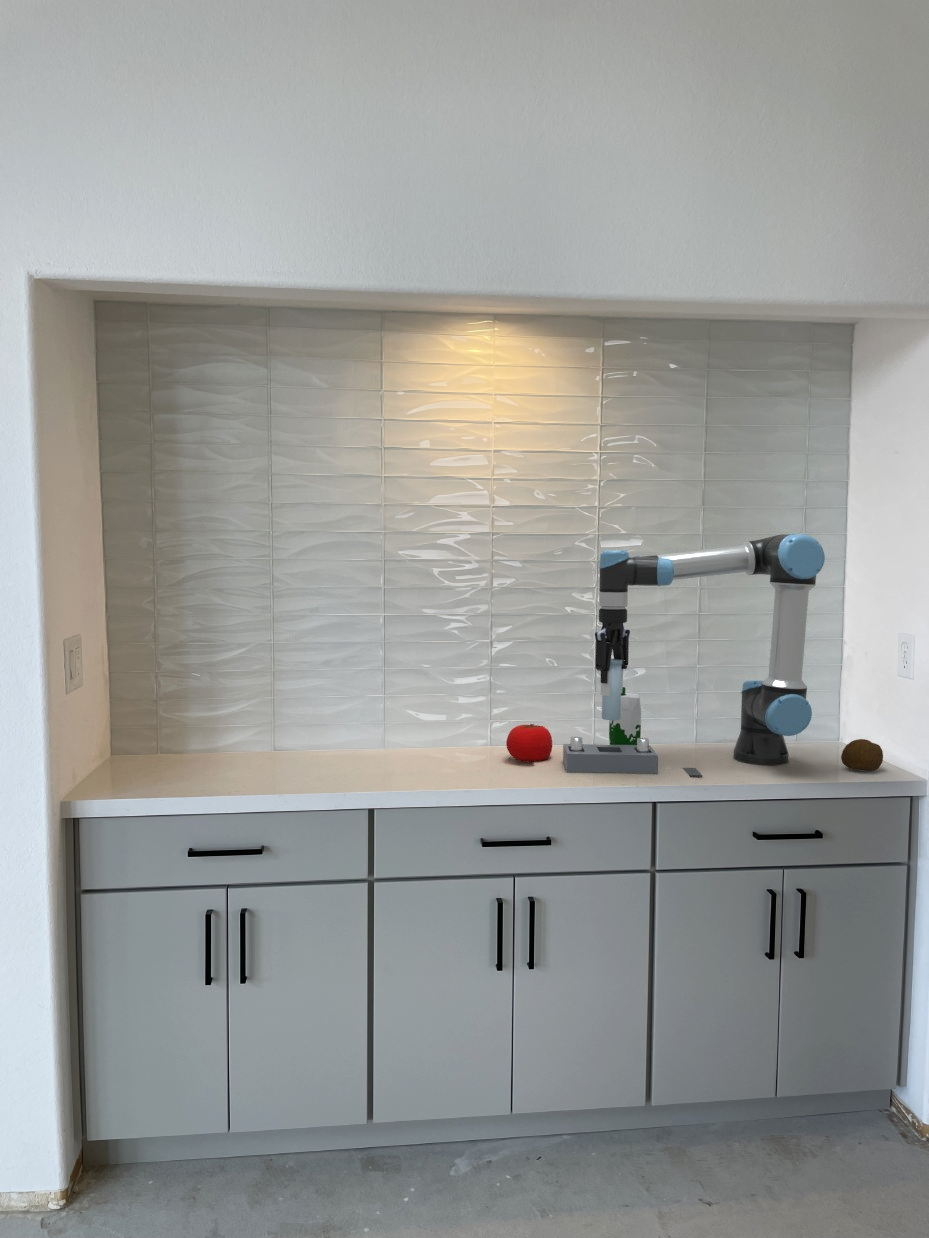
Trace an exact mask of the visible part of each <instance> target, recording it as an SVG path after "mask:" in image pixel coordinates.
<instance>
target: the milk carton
mask: <svg viewBox="0 0 929 1238" xmlns="http://www.w3.org/2000/svg"><path fill="white" fill-rule="evenodd" d="M641 706H642V704H641V697H640V693H635V692H634V693H631V692H626V687H625V686H623V688H622V693H621V716H620V720H608V723H609V724H608V725H609V726H608V737H609V738H608V741H609V745H637V738H641V734H642V733H641V732H642V707H641Z"/></svg>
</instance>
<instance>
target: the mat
mask: <svg viewBox="0 0 929 1238" xmlns="http://www.w3.org/2000/svg"><path fill="white" fill-rule="evenodd" d="M682 769H683V771H684V772H685V774H687V775H688V776H689V778H699V779H701V778H703V775H702V773H701V772H700V771H699V770H698V769H697V768H696V767H682Z"/></svg>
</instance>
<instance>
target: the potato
mask: <svg viewBox="0 0 929 1238" xmlns="http://www.w3.org/2000/svg"><path fill="white" fill-rule="evenodd" d="M883 751H884V750H883V749H882V748H881V746H880V744H878V743H875V742H872V741H871V740H868V739H865V738H859V739H854V740H851V741H850V742H848V743H847V744H846V745H845V747H844V748H843V749H842V752H841V755H840V760H841V763H842V764H843V765H844V766H845V767H846V768H848V769H851V770H855V771H864V772H871V771H872V772H873V771H876V770H878V769H880V767H881V766H882V764H883V761H884V752H883Z"/></svg>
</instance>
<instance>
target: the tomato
mask: <svg viewBox="0 0 929 1238" xmlns="http://www.w3.org/2000/svg"><path fill="white" fill-rule="evenodd" d="M551 734H552V733H551V732H550V730H549V729H548V728H547V727H546V726H544V725H538V724H537V725H535V723H530V724H520V725H517V726H515V727H513V728H511V730H510V731H509V732H508V735H507V738H506V742H505V743H506V745H505V746H506V749H507V751H508V753H509V755H510V756H511V757H512V758H513V759H515V760H517V761H519V762H523V763H535V762H540V761H545V760H547V759H549V757H550V756H551V753H552V751H553V739H552V738H553V737H552V735H551Z"/></svg>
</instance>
